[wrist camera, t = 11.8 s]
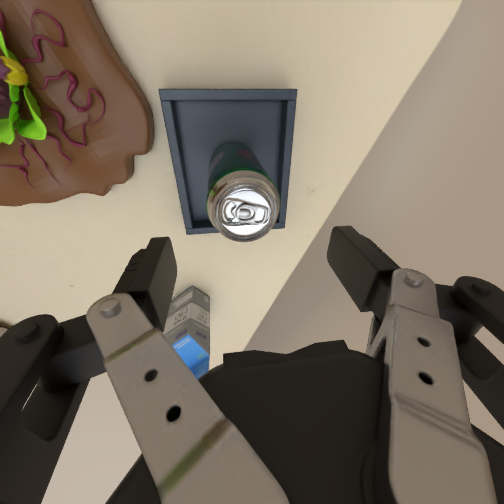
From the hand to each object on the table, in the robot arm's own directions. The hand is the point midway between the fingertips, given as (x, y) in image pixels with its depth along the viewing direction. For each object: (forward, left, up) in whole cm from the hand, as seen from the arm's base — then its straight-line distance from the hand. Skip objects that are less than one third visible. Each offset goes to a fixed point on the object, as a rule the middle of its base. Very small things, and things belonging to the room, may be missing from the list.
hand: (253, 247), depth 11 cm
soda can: (0, 0, -16) cm, 16 cm away
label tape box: (+21, -9, -17) cm, 28 cm away
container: (0, 0, -16) cm, 16 cm away
